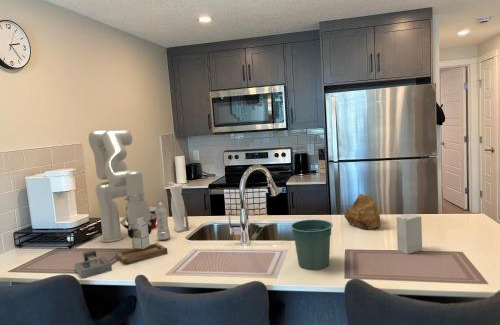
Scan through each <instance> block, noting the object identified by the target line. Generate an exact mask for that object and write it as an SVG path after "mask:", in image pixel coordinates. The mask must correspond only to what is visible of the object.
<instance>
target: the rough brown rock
mask: <svg viewBox="0 0 500 325" xmlns="http://www.w3.org/2000/svg"><path fill="white" fill-rule="evenodd" d="M343 217H344V218H345V220H346V221H347V223H348V224H350V225H355V226H357V227H358V228H361V229H362V230H366V229H368V230H374V229H378V228H380V227H381V214H380V213H379V208H378V205H377V203H376V202H375V201H374V200H373V198H372V196H371V195H370V194H361V193H360V194H358V196H357V197H356V199H355V200H354V202H353V204H351V206H349V207H348V208H347V209H346V211H345V213H344V216H343Z"/></svg>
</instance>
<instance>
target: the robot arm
mask: <svg viewBox="0 0 500 325" xmlns="http://www.w3.org/2000/svg"><path fill="white" fill-rule="evenodd" d="M88 143H89V146H90V148H91V151H92V152H93V157H94V163H95V171H96V172H95V173H96V177H97V179H99V180H101V181H102V180H107V181H104V182H100V183H98V184H96V187H95V194H96V198H97V201H98V206H99V207H98V208H99V215H100V222H101V223H100V224H101V234H102V237H100V238H99V241H100V242H101V243H112V242H113V243H114V242H118V241H121V240H123V239H124V238H125V234H123V233H122V230H121V228H122V227H123V228H125V229H127V236H128V238H130V239H132V238H133V232H132V229H131V228H132V225H133V224H137V219H138V218H141V217H143V218H144V222H147V223H148V232H149V235H151V234H152V229H151V225H152V223H153V221H154V219H155V217H156V215H154V214H152V213H151V212H150V210H149V207H150V206H149V203H148V199H146V198H145V197H146V196H145V187H144V178H143V176H144V175H143V173H142V171H140V170H138V169H128V167H127V164H126V163H125V161H124V160H125V159H126V158H127V156H128V152H127V150H126V146H130V145H132V143H133V135H132V133H131V131H130V130H128V129H126V128H125V129H124V128H110V129H109V128H108V129H107V128H106V129H104V128H103V129H96V130H92V131H91V132H89V134H88ZM123 197H124V201H126V204H125V216H124V218H122V219H121V218H120V212H119V210H120V209H119V206H118V204H117V203H116V201H114V199H118V198H123ZM151 216H152V217H151ZM120 219H121V220H120ZM126 223H127V224H126ZM121 226H122V227H121Z"/></svg>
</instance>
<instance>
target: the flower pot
mask: <svg viewBox="0 0 500 325" xmlns="http://www.w3.org/2000/svg"><path fill="white" fill-rule="evenodd" d="M333 225H334V224H333V223H332V222H331V221H328V220H325V219H314V218H313V219H312V218H311V219H301V220H298V221H295V222H293V223H291V224H290V229H291V230H292V231H291V232H292V236H293V239H294V244H295V250H296V256H297V263H298V266H299V267H300V268H302V269H304V268H305V269H307V270H321V269H325V268H326V267H328V266H329V265H330V253H331V252H330V248H331V236H332V228H333Z"/></svg>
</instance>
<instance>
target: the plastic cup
mask: <svg viewBox="0 0 500 325" xmlns="http://www.w3.org/2000/svg"><path fill="white" fill-rule="evenodd" d="M157 207H158V206H157ZM157 207H156V206H149V210H150V212H151V213H152V214H154V215H155V211H156V209H157ZM151 217H152V216H151ZM156 227H157V219H156V217H155V219H154V221H153V223H152V225H151V230H153V228H154V229H156Z"/></svg>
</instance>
